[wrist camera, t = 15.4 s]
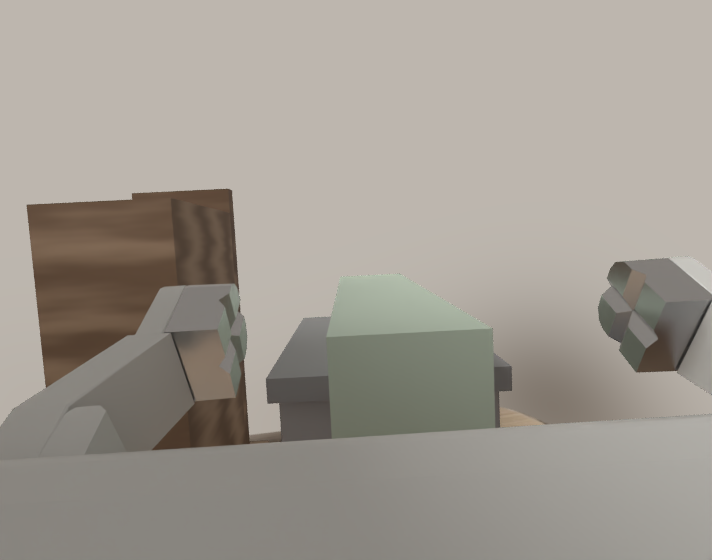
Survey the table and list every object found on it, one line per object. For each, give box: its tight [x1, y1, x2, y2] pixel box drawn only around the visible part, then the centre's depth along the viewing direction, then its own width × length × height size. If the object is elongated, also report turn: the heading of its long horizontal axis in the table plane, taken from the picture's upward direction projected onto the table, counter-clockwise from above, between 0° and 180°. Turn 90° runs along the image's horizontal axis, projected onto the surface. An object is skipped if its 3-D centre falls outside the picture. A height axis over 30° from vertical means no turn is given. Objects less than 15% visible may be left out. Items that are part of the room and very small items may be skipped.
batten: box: [326, 274, 495, 439], centre depth 21 cm, size 20×4×3 cm, turn 1°
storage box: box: [266, 317, 512, 442], centre depth 27 cm, size 15×10×18 cm, turn 1°
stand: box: [27, 189, 269, 450], centre depth 42 cm, size 19×14×30 cm
